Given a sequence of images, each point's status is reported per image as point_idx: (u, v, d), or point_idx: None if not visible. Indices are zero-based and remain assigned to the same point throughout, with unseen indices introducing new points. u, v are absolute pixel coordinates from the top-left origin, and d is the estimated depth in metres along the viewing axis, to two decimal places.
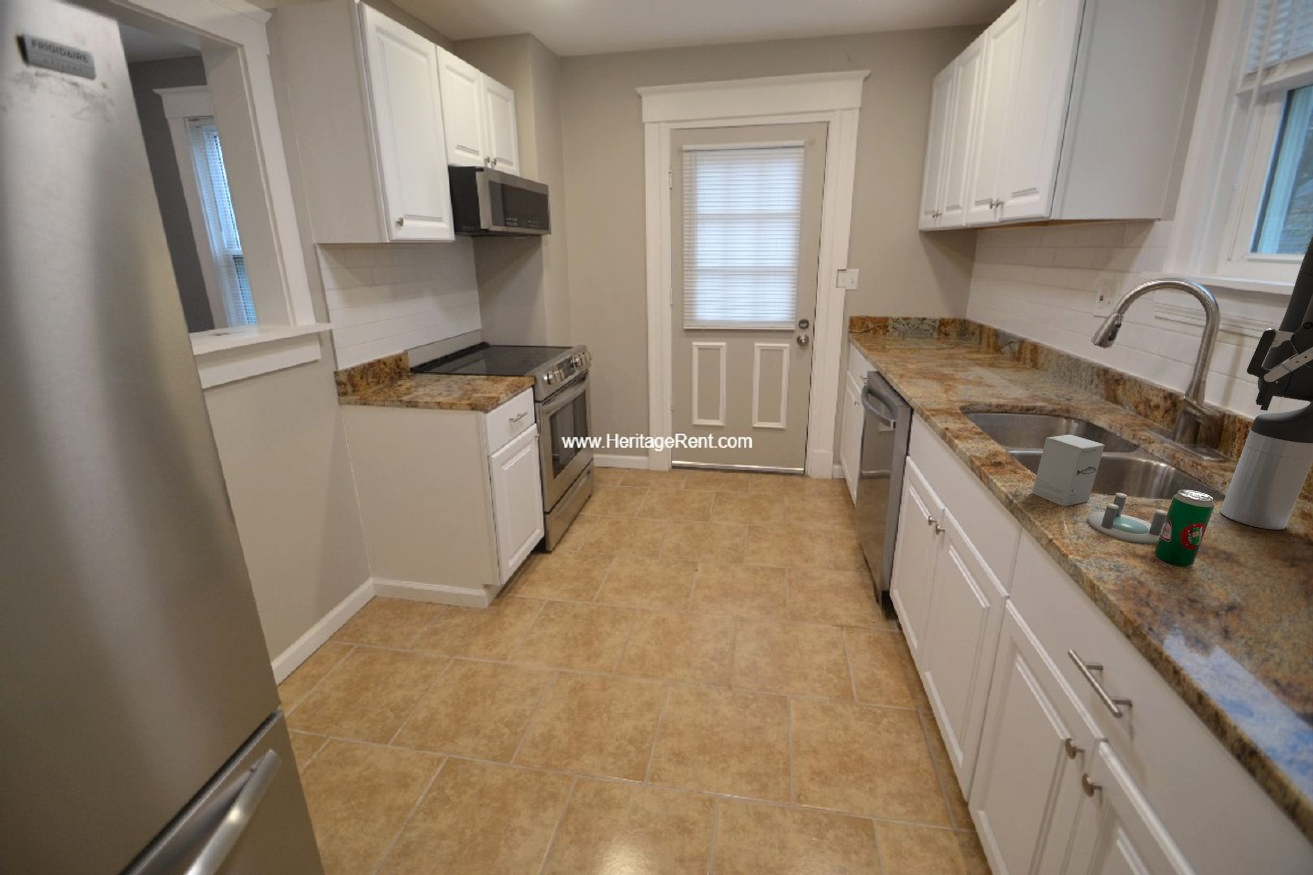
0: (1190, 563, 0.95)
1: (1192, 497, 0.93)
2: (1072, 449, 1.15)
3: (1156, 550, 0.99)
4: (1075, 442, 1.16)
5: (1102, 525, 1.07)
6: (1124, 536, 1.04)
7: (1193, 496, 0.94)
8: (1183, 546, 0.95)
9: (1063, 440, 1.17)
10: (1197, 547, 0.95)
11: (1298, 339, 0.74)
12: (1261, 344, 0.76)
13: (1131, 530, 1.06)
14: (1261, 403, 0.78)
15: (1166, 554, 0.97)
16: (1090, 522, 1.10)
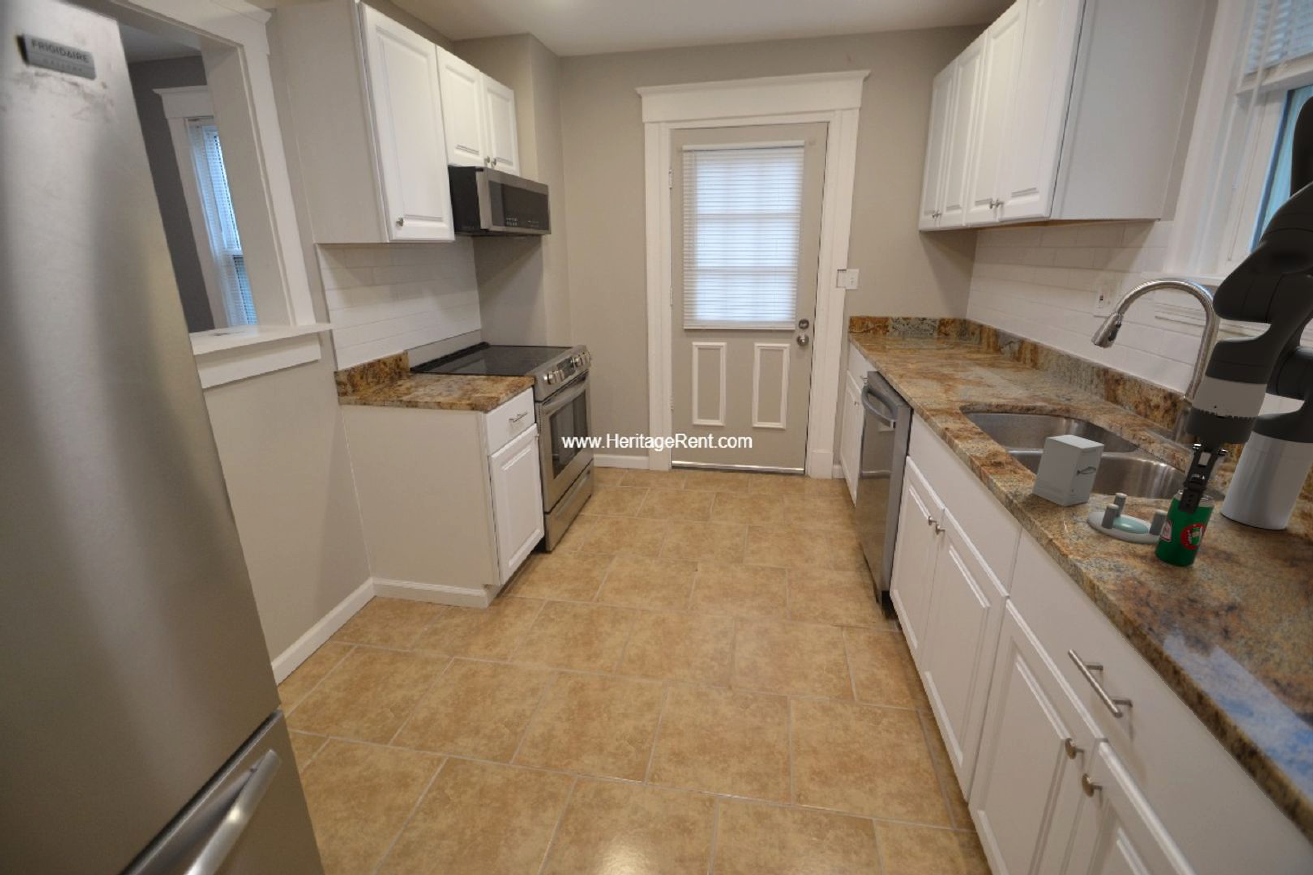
0: (1190, 563, 0.95)
1: None
2: (1072, 450, 1.15)
3: (1156, 550, 0.99)
4: (1075, 442, 1.16)
5: (1102, 525, 1.07)
6: (1124, 536, 1.04)
7: None
8: (1183, 546, 0.95)
9: (1063, 440, 1.17)
10: (1197, 547, 0.95)
11: None
12: (1212, 467, 0.87)
13: (1131, 530, 1.06)
14: (1194, 509, 0.91)
15: (1166, 554, 0.97)
16: (1090, 522, 1.10)
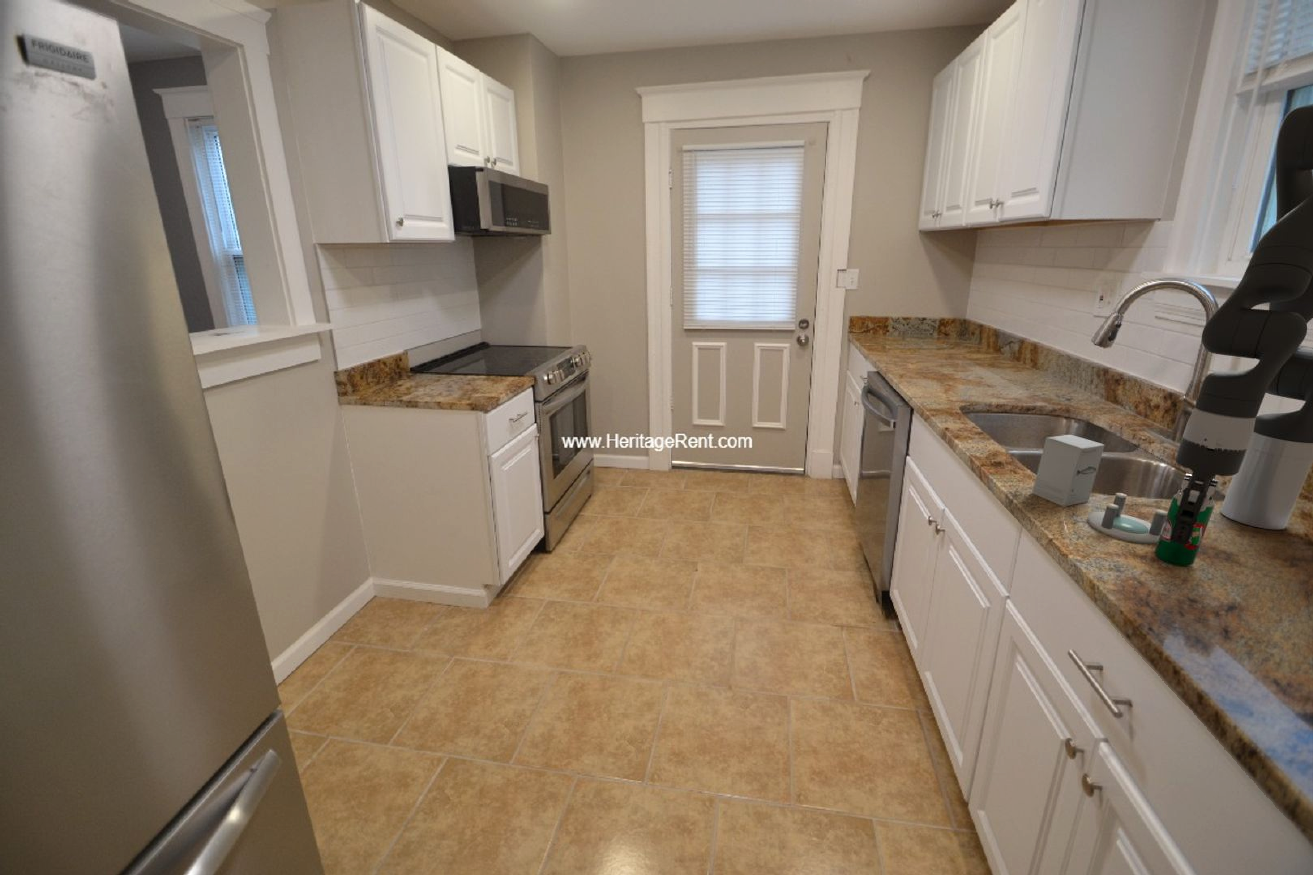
0: (1190, 563, 0.95)
1: None
2: (1072, 449, 1.15)
3: (1156, 550, 0.99)
4: (1075, 442, 1.16)
5: (1102, 525, 1.07)
6: (1124, 536, 1.04)
7: None
8: (1183, 546, 0.95)
9: (1063, 440, 1.17)
10: (1197, 547, 0.95)
11: (1207, 488, 0.90)
12: (1202, 504, 0.89)
13: (1131, 530, 1.06)
14: (1185, 540, 0.94)
15: (1166, 554, 0.97)
16: (1090, 522, 1.10)
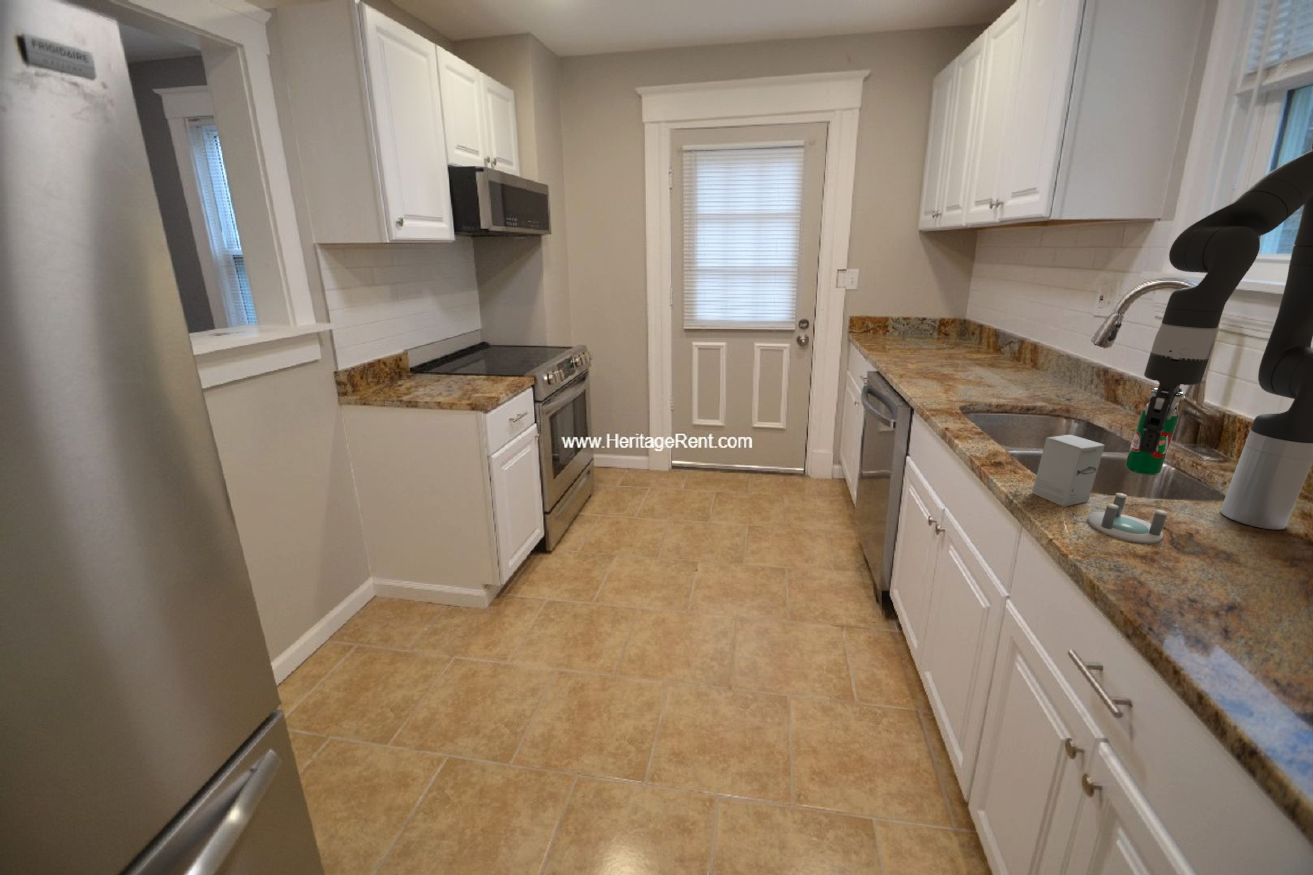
0: (1157, 471, 1.03)
1: None
2: (1072, 449, 1.15)
3: (1126, 462, 1.06)
4: (1075, 442, 1.16)
5: (1102, 525, 1.07)
6: (1124, 536, 1.04)
7: None
8: (1150, 454, 1.02)
9: (1063, 440, 1.17)
10: (1163, 455, 1.02)
11: (1172, 397, 0.97)
12: (1167, 410, 0.96)
13: (1131, 530, 1.06)
14: (1153, 448, 1.01)
15: (1135, 464, 1.04)
16: (1090, 522, 1.10)
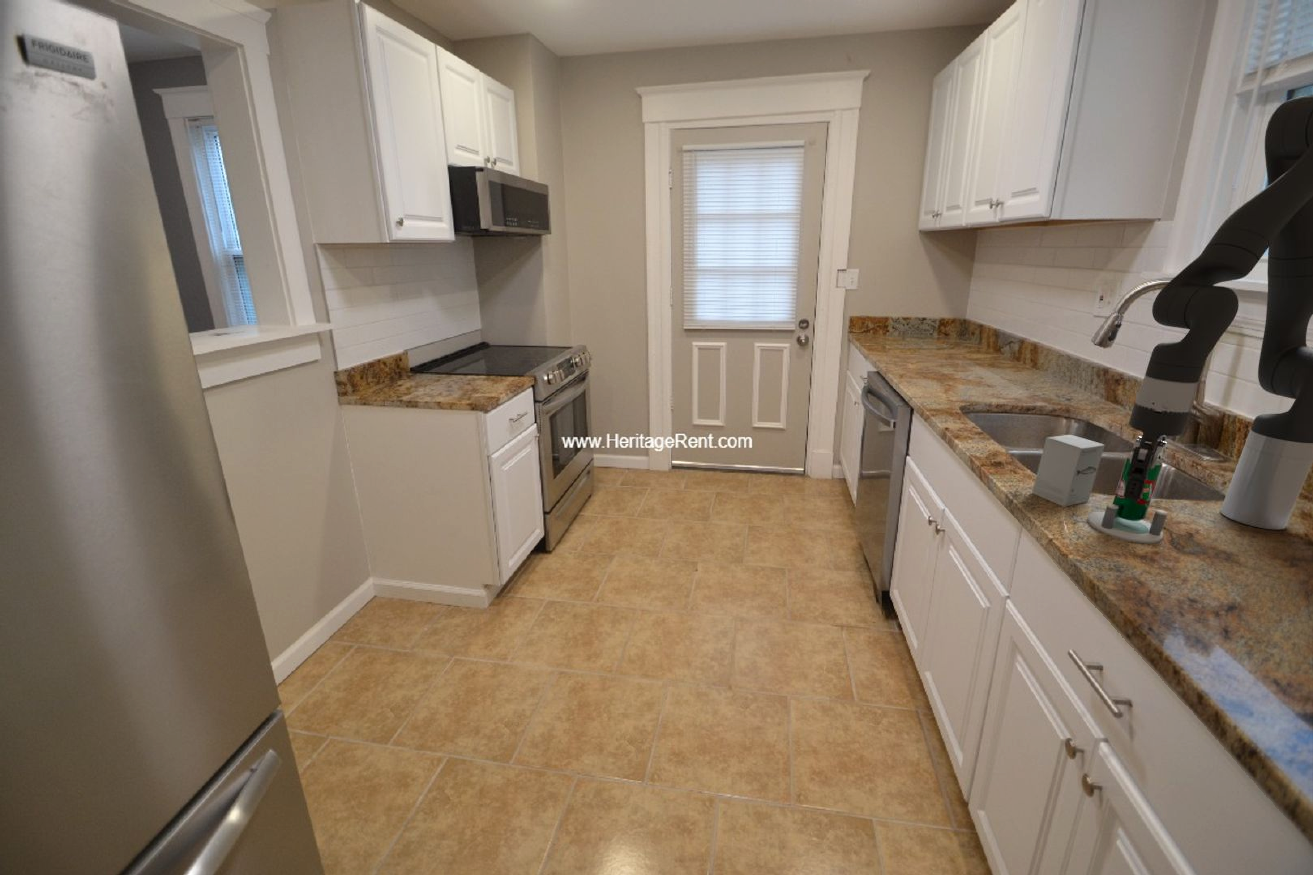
0: (1142, 517, 1.05)
1: None
2: (1072, 450, 1.15)
3: None
4: (1075, 442, 1.16)
5: (1102, 525, 1.07)
6: (1124, 536, 1.04)
7: None
8: (1135, 501, 1.05)
9: (1063, 440, 1.17)
10: (1148, 502, 1.05)
11: (1155, 447, 1.00)
12: (1150, 461, 0.99)
13: (1131, 530, 1.06)
14: (1137, 496, 1.04)
15: (1120, 510, 1.07)
16: (1090, 522, 1.10)
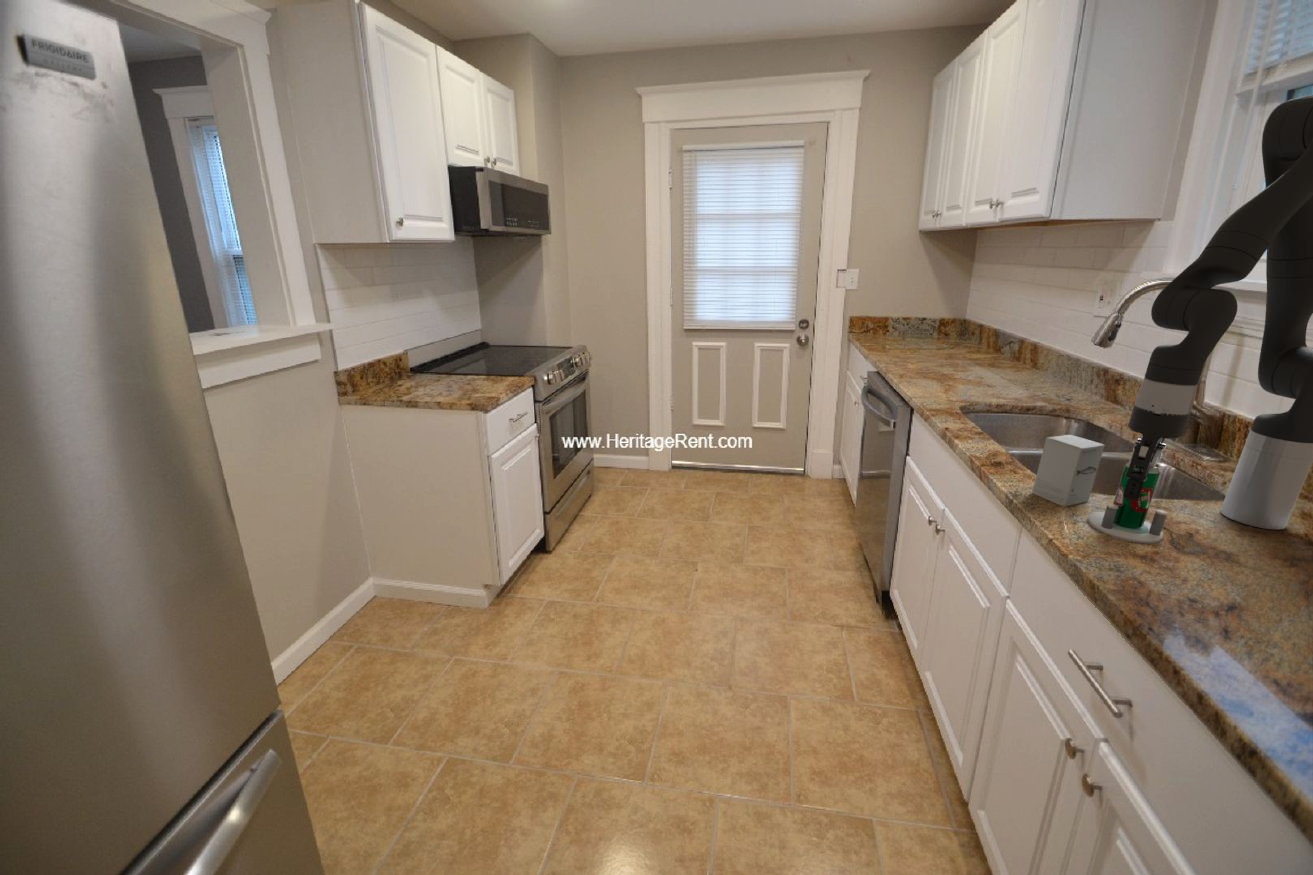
0: (1140, 525, 1.06)
1: None
2: (1072, 449, 1.15)
3: None
4: (1075, 442, 1.16)
5: (1102, 525, 1.07)
6: (1124, 536, 1.04)
7: None
8: (1133, 509, 1.05)
9: (1063, 440, 1.17)
10: (1146, 510, 1.05)
11: (1154, 449, 1.00)
12: (1150, 459, 0.99)
13: (1131, 530, 1.06)
14: (1136, 496, 1.03)
15: (1118, 518, 1.07)
16: (1090, 522, 1.10)
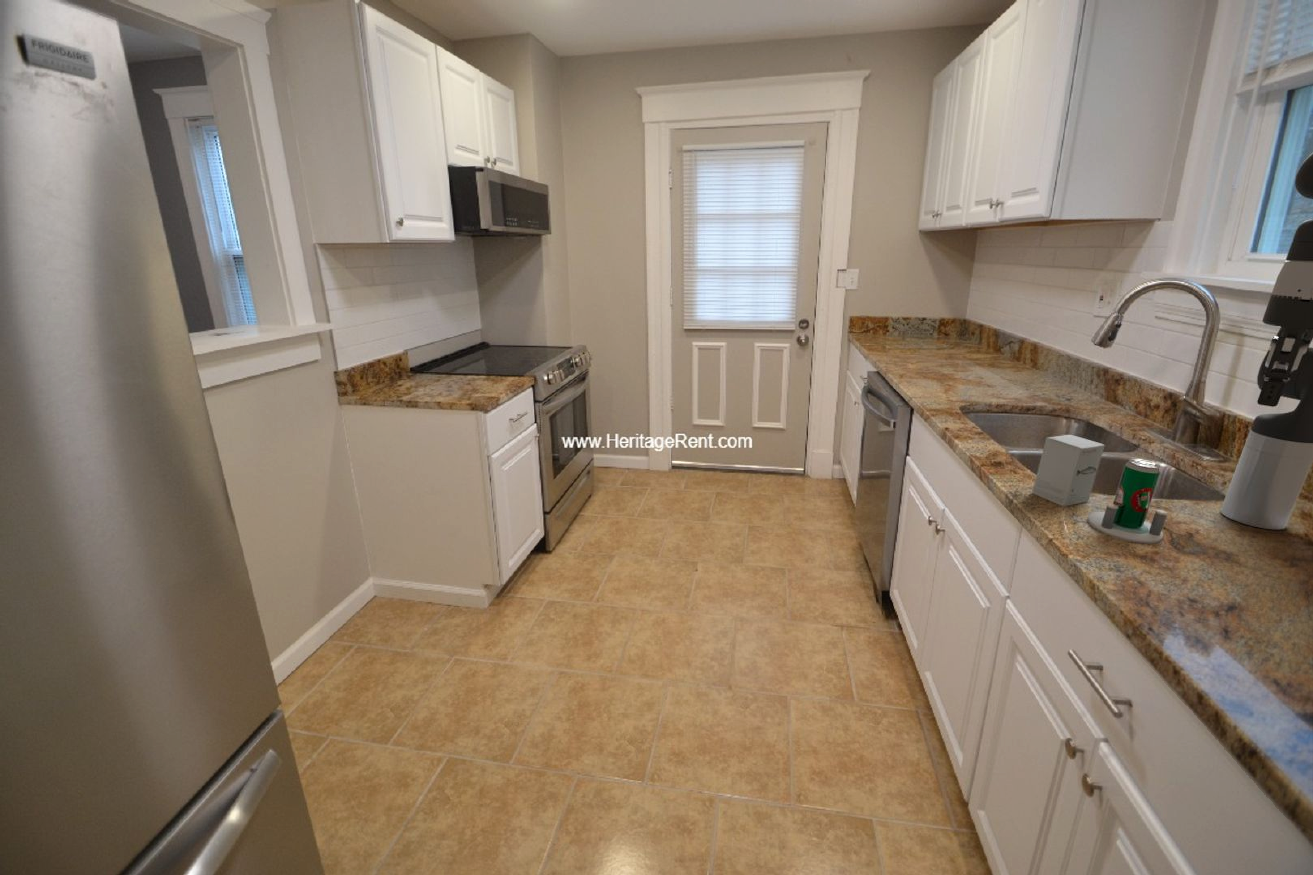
0: (1140, 525, 1.06)
1: (1140, 464, 1.04)
2: (1072, 450, 1.15)
3: None
4: (1075, 442, 1.16)
5: (1102, 525, 1.07)
6: (1124, 536, 1.04)
7: (1141, 464, 1.04)
8: (1133, 509, 1.05)
9: (1063, 440, 1.17)
10: (1146, 510, 1.05)
11: None
12: (1297, 352, 0.83)
13: (1131, 530, 1.06)
14: (1275, 401, 0.87)
15: (1118, 517, 1.07)
16: (1090, 522, 1.10)
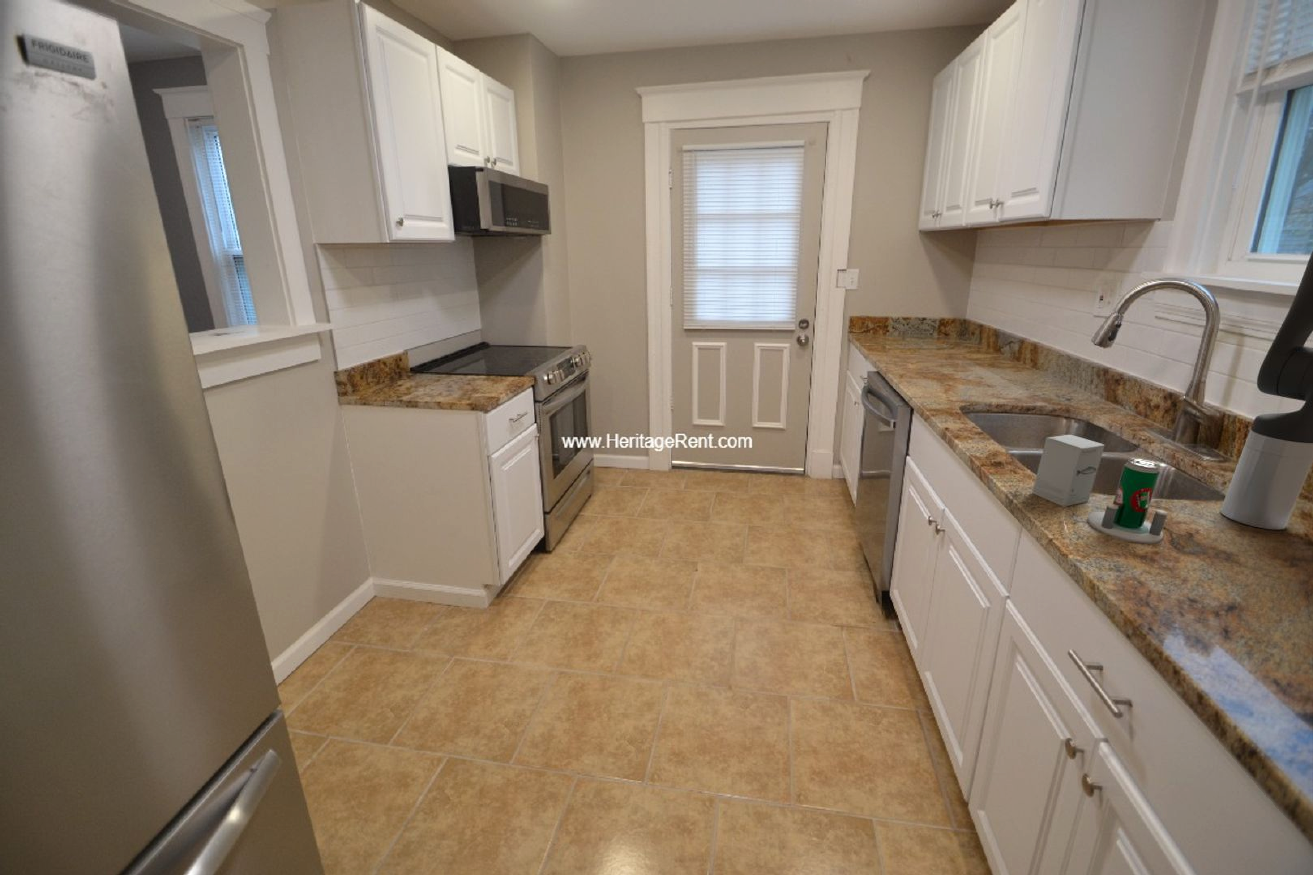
0: (1140, 525, 1.06)
1: (1140, 464, 1.04)
2: (1072, 450, 1.15)
3: None
4: (1075, 442, 1.16)
5: (1102, 525, 1.07)
6: (1124, 536, 1.04)
7: (1141, 464, 1.04)
8: (1133, 509, 1.05)
9: (1063, 440, 1.17)
10: (1145, 510, 1.05)
11: None
12: None
13: (1131, 530, 1.06)
14: None
15: (1118, 517, 1.07)
16: (1090, 522, 1.10)
